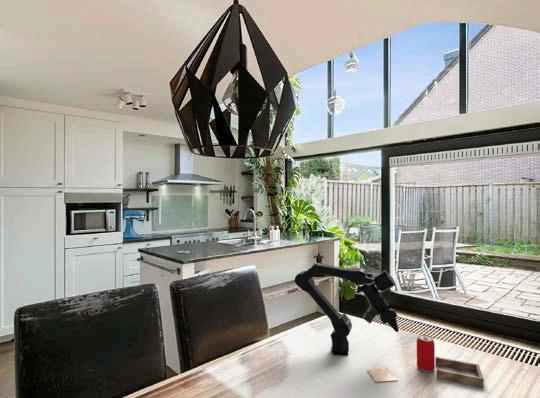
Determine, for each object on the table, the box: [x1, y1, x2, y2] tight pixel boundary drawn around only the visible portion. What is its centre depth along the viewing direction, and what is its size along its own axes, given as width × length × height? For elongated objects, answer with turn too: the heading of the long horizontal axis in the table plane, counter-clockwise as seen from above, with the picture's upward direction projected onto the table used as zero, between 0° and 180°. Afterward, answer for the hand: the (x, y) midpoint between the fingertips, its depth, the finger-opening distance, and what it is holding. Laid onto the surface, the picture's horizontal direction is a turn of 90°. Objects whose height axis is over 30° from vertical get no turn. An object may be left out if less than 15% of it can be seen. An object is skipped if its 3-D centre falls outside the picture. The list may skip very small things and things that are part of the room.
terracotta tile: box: [367, 368, 399, 384], centre depth 120 cm, size 8×8×1 cm
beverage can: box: [416, 334, 436, 373], centre depth 125 cm, size 6×6×12 cm
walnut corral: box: [435, 356, 485, 389], centre depth 120 cm, size 14×11×3 cm
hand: (397, 331), depth 130 cm, fingers closed
